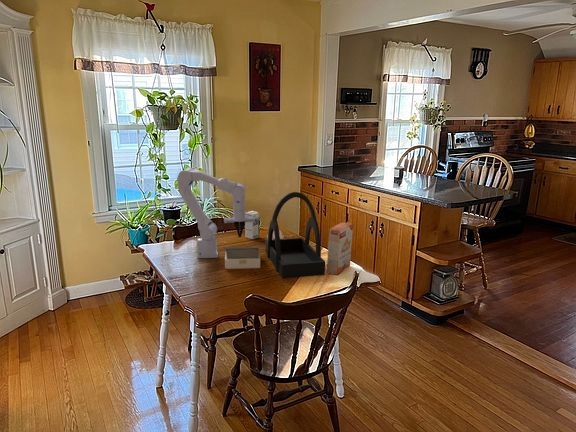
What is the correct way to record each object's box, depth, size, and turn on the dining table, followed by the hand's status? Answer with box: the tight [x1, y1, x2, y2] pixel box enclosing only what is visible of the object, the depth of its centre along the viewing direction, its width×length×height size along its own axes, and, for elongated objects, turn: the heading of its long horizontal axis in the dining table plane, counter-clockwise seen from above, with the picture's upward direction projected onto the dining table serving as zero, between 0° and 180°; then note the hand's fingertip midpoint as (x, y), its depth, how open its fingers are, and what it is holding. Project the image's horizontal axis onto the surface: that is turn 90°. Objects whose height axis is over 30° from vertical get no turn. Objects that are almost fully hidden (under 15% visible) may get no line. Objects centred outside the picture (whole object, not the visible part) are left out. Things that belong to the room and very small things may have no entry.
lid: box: [223, 246, 262, 250], centre depth 203 cm, size 17×15×1 cm
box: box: [224, 249, 261, 270], centre depth 204 cm, size 16×14×4 cm
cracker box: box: [326, 221, 354, 276], centre depth 197 cm, size 14×6×21 cm, turn 148°
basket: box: [264, 191, 326, 279], centre depth 202 cm, size 35×21×35 cm, turn 15°
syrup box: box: [244, 210, 260, 240], centre depth 241 cm, size 6×6×14 cm
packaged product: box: [266, 229, 286, 240], centre depth 236 cm, size 18×5×10 cm
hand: (239, 236), depth 209 cm, fingers closed
